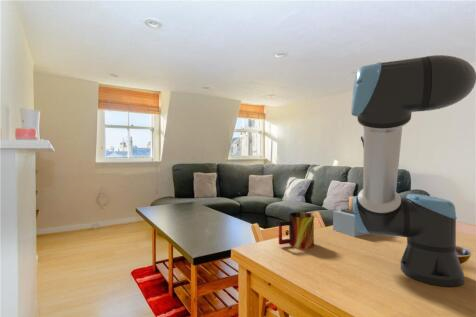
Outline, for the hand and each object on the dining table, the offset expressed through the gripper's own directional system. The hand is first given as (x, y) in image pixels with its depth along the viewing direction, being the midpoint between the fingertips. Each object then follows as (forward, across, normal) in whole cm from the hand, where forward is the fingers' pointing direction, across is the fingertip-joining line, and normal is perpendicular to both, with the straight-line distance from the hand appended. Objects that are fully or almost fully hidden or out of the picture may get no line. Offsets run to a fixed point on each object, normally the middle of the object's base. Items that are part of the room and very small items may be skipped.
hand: (374, 177), depth 105 cm
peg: (+21, +6, +15) cm, 26 cm away
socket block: (+27, +6, +15) cm, 31 cm away
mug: (+27, -29, +12) cm, 41 cm away
